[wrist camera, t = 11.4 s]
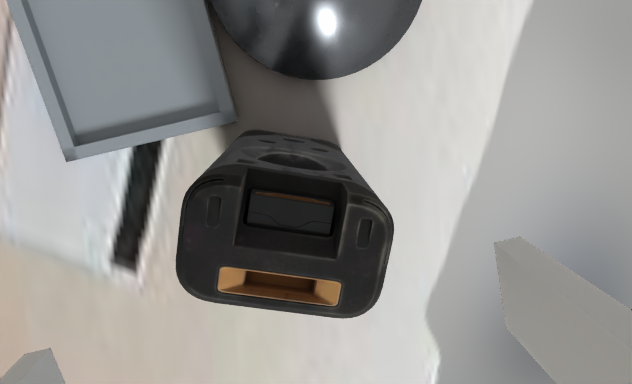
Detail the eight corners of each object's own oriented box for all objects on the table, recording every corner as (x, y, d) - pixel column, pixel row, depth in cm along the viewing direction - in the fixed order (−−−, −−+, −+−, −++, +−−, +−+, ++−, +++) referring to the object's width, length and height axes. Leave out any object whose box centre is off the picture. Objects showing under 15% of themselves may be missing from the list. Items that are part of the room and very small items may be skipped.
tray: (75, 158, 38) (66, 162, 36) (0, -46, 34) (-13, -53, 32) (238, 120, 38) (236, 121, 36) (182, -89, 34) (176, -98, 32)
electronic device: (346, 143, 39) (403, 202, 19) (334, 209, 40) (376, 327, 21) (238, 125, 38) (183, 168, 18) (229, 194, 39) (169, 301, 20)
